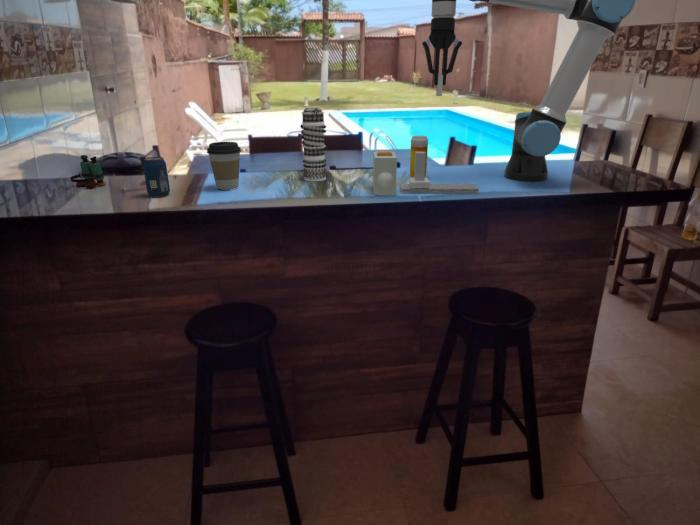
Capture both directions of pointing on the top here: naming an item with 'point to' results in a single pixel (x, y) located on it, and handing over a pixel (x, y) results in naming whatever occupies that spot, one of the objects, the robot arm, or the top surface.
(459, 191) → the rail
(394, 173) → the white block
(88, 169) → the binoculars
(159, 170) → the soda can
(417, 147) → the beer can
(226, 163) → the coffee cup
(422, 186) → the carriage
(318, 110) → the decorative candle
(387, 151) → the button
